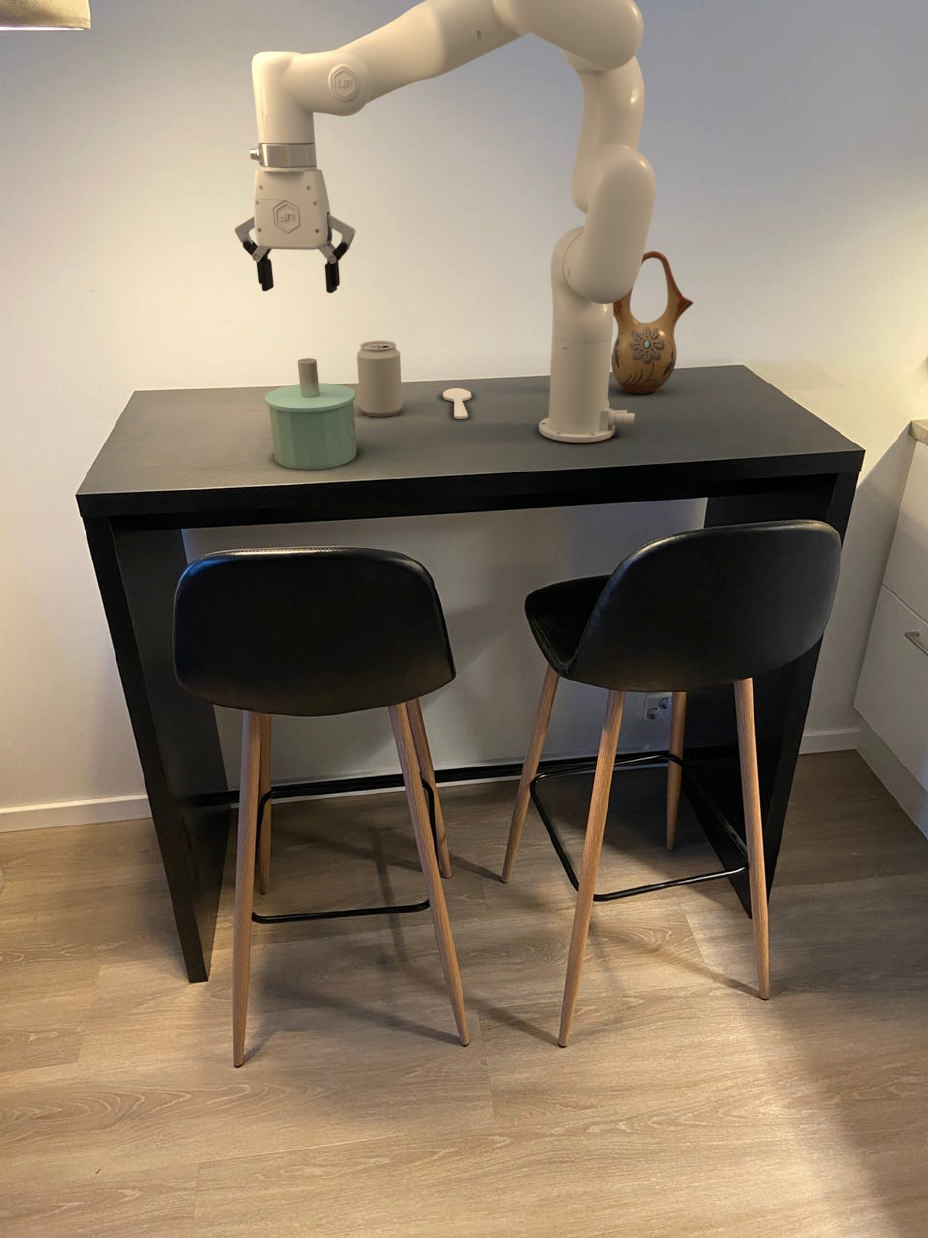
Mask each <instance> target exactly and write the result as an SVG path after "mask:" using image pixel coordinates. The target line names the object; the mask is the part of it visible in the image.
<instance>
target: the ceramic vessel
mask: <svg viewBox="0 0 928 1238" xmlns="http://www.w3.org/2000/svg"><path fill="white" fill-rule="evenodd" d="M649 259H657V260H659V261H660V262H661V265H662V269H663V271H664V276H665V282H666V289H667V301H666V307H665V310H664V311H663V313H662V314H661V315H660V316H659V317H658V318H657V319H655V320H653V321H650V322H641V321H639V320H638V319H637V318H636V317H635V316H634V315H633V313H632V310H631V300H632V293H633V290H634V289H633V288H634V286H635V284H634V285H633V287H632V288H631V290H630V291H629V292H628V293H627V294H626V295H625V296H624V297H623V298H622V299H620V300H618V301H616V302H614V303H613V318H614V320H615V321H616V325H617V335H616V339H615V341H614V343H613V346H612V348H611V359H610V367H611V371H612V374H613V376H614V378H615V381H616V382H617V384H619V385H620V387H621V388H622V389H623V390H624V391H626V392H628V393H631V394H640V395H645V394H653V393H654V392H656V391H658V390H659V389H661V387H663V386H664V385H665V384H666V383H667V382H668V380H669V379H670V377H671V375H672V374H673V372H674V369H675V367H676V364H677V363H676V362H677V351H678V350H677V345H676V341H675V328H676V325H677V323H678V321H679V320H680V317H682V315H683V314H684V313H685V312H686V311H687V310H688V309H689V308H690V307H691V306H693V304H694V302H693V301H692V300H691V299H689V298H687V297H685V296H683V293H682V292H681V290H680V289H679V287H678V285H677V283H676V280H675V279H674V276H673V273H672V269H671V266H670V263H669V260H668V258H667V256H665V255H664V253H661V252H659V251H655V250H651V251H647V252H644V254H643V259H642V263H641V266H642V265H643V263H644V262H645V261H646V260H649Z"/></svg>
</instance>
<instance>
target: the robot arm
mask: <svg viewBox="0 0 928 1238" xmlns="http://www.w3.org/2000/svg"><path fill="white" fill-rule="evenodd" d="M643 19H644V18H643V15H642V13H641V10H640V8H639V7H638V5H637V3H636V2H635V1H634V0H424V1H422V2H420V3H418V4H416V5H415V6H413V7H411V8H410V9H408V10H407V11H405V12H404V13H403V14H401V15H400V16H398V17H397V18H395V19H394V20H392V21H390V22H389V23H387V24H385V25H383V26H382V27H380V28H378V29H376V30H374V31H372V32H370V33H368V34H365V35H364V36H362V37H360V38H357V39H355V40H354V41H351V42H349V43H347V44H344V45H343V46H341V47H338V48H336V49H334V50H327V51H322V52H313V53H312V52H311V53H301V52H295V51H262V52H259V53H256V54H255V55H253V58H252V60H251V77H252V86H253V87H252V88H253V96H254V97H253V98H254V107H255V115H256V127H257V136H258V144H257V147H256V148H250V150H249V155H250V159H251V161H257V162H259V166H260V168H261V169H256V170H255V172H254V173H255V174H254V185H253V188H254V189H253V216H252V217H251V218H249V219H247V220H245V221H244V222H242V223H240V224H239V225H237V226H236V227H235V228H234V232H235V235H236V236H237V238H238V240H239V242H240V243H241V244H242V248H243V249H244V250H245V251H246V252H247V253H248V254H249V255H250V256H251V257H252V260H253V261H254V262H256V270H257V271H256V272H257V280H258V281H257V282H258V284H259V285H261V291H262V292H268V291H270V290H272V289H274V286H275V285H274V273H273V264H272V260H271V258H269V255H270V253H271V252H272V250H294V251H295V250H298V251H299V250H300V251H315V250H318V251H319V252H320V253H321V254H322V255H323V257H324V258H325V259H326V263H325V264H324V277H325V290H326V293H328V294H333V293H334V292H336V291H337V290H338V287H339V286H340V284H341V278H340V262H339V261H341V259H342V258H343V257H344V256H345V254H347V252H348V251H349V250H350V247H351V244H352V243H353V240H354V238H355V235H356V229H355V228H353V227H352V226H351V225H349V224H347V223H346V222H344V221H342V220H340V219H338V218H336V217H335V216H333V215H332V213H331V208H330V200H329V195H328V190H327V185H326V181H325V178H324V174H323V170H322V169H318V160H317V147H316V135H315V123H314V122H315V121H314V114H315V113H318V114H324V115H325V114H327V115H331V116H338V117H349V116H354V115H355V114H358V113H359V112H360V111H362V110H363V109H364V108H365V106H366V105H367V104H368V103H370V102H373V101H375V100H376V99H379V98H381V97H383V96H385V95H387V94H389V93H392V92H393V91H396V90H398V89H401V88H404V87H406V86H408V85H411V84H414V83H416V82H420V81H424V80H429V79H434V78H436V77H439V76H441V75H444V74H447V73H449V72H452V71H454V70H456V69H458V68H460V67H461V66H464V65H466V64H468V63H470V62H473V61H474V60H476V59H478V58H480V57H482V56H485V55H487V54H489V53H491V52H493V51H495V50H497V49H499V48H501V47H504V46H505V45H508V44H511V43H512V42H514V41H516V40H518V39H520V38H522V37H525V36H526V35H529V34H532V35H535V36H537V37H538V38H540V39H542V40H543V41H546V42H547V43H550V44H551V45H554V46H556V47H558V48H559V51H560V53H561V56H562V57H563V59H564V61H565V62H566V63H567V64H568V65H569V67H570V68H572V70H573V71H574V72H575V74H576V75H577V77H578V80H579V82H580V86H581V88H582V94H583V111H582V119H581V127H580V132H579V133H580V134H579V138H578V142H577V150H576V155H575V159H574V165H573V169H572V176H571V180H570V196H571V199H572V201H573V204H574V206H575V207H576V208H577V209H578V210H579V211H580V212H582V213H583V214H585V215H586V216H585V223H584V225H581V226H577V227H572V228H571V229H569V230H568V231H565V233H563V234H562V236H560V237H559V238H558V240H557V241H556V244H555V246H554V247H553V249H552V254H551V258H550V259H551V260H550V285H551V298H552V324H551V325H552V326H551V327H552V328H551V347H550V369H549V371H550V372H549V375H550V376H549V396H548V397H549V398H548V417H545V418H544V419H542V420H541V421H540V422H539V423H538V432H539V433H540V434H541V435H542V436H543V437H545V438H547V439H550V440H554V441H558V442H563V443H572V444H573V443H574V444H586V443H596V442H601V441H605V440H608V439H610V438H612V436H614V435H615V433H616V425H623V426H634V425H635V414H636V413H634V412H633V413H632V412H628V410H627V409H615V410H614V409H613V408H612V407H611V408H610V400H608V399H609V385H610V370H611V354H612V344H613V331H614V316H613V303H614V302H616V301H618V300H620V299H622V298H623V297H624V296H625V295H626V294H627V293H628V292H629V291H630V290H631V288H632V287H633V288H634V286H635V284H636V281H637V279H638V276H639V273H640V271H641V267H642V265H641V263H642V259H643V254H645V249H646V245H647V241H648V237H649V236H648V235H649V231H650V226H651V222H652V217H653V213H654V207H655V203H656V197H657V196H656V195H657V194H656V193H657V183H656V176H655V172H654V170H653V167H652V166H651V163H650V162H649V161H648V159H647V158H646V157H645V156H644V155H643V154H641V153H639V152H638V148H639V142H640V136H641V131H642V130H641V129H642V123H643V118H644V113H645V112H644V111H645V99H646V98H645V96H646V95H645V93H646V92H645V83H644V78H643V73H642V70H641V67H640V64H639V61H638V59H637V56H636V54H637V53H638V52H639V50H640V48H641V46H642V42H643V38H644V20H643ZM252 230H254V234H255V240H256V242H255V241H254V240H253V239H252V238H251V235H250V232H251V231H252ZM333 230H334V231H335V232H338V233H339V234H341V239H340V243H339V244H338V245H337V246H336V247H335V245H334V244H333V243H332V241H333ZM633 285H634V286H633Z"/></svg>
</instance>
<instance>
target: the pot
mask: <svg viewBox="0 0 928 1238" xmlns="http://www.w3.org/2000/svg"><path fill="white" fill-rule="evenodd" d="M354 409H355V408H354V401H353V402H351V403H350V404H348V405H346V406H343V407H340V408H336V409H331V410H325V411H316V412H290V411H282V410H278V409H274V408H271V407H269V406H268V410H269V419H270V428H271V437H272V445H273V453H274V460H275V462H276V463H277V464H278V465H280V466H282V467H286V468H288V469H293V470H294V469H296V470H305V471H306V470H309V471H310V470H311V471H312V470H324V469H330V468H337V467H339V466H343V465H345V464H348V463H349V462H351V461H352V460H354V459H355V458H356V456H357V451H358V450H357V440H356V439H357V438H356V436H357V435H356V422H355V410H354Z"/></svg>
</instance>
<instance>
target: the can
mask: <svg viewBox="0 0 928 1238" xmlns="http://www.w3.org/2000/svg"><path fill="white" fill-rule="evenodd" d="M359 347H360V349H359V350H358V352H356V364H357V376H358V379H357V380H358V394H359V407H360V410H361V411H362V412H363V413H365V415H367V416H371V417H378V418H380V417H391V416H394V415H397V414H398V413H399V412H400V410H402V408H403V390H402V389H403V388H402V387H403V386H402V365H401V364H402V363H401V352H400V351H399V350H398V349H397V344H396V343H395V342H393V341H389V340H370V341H365V342H362V343H361V344H359Z"/></svg>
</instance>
